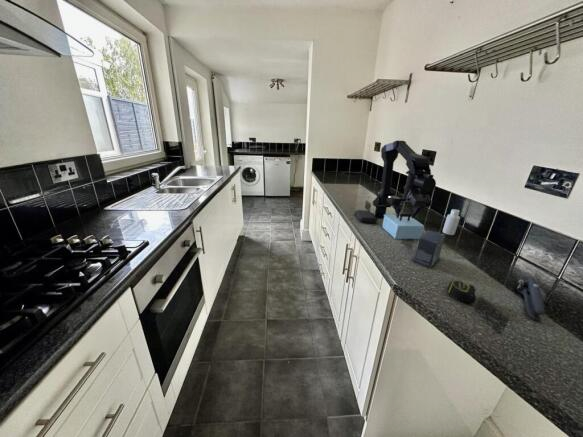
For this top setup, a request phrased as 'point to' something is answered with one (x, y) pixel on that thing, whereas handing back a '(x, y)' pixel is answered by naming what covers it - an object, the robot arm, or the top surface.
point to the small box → (429, 248)
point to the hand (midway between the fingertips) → (405, 218)
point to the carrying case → (365, 216)
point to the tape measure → (462, 291)
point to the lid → (404, 220)
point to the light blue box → (402, 230)
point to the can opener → (532, 297)
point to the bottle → (451, 222)
